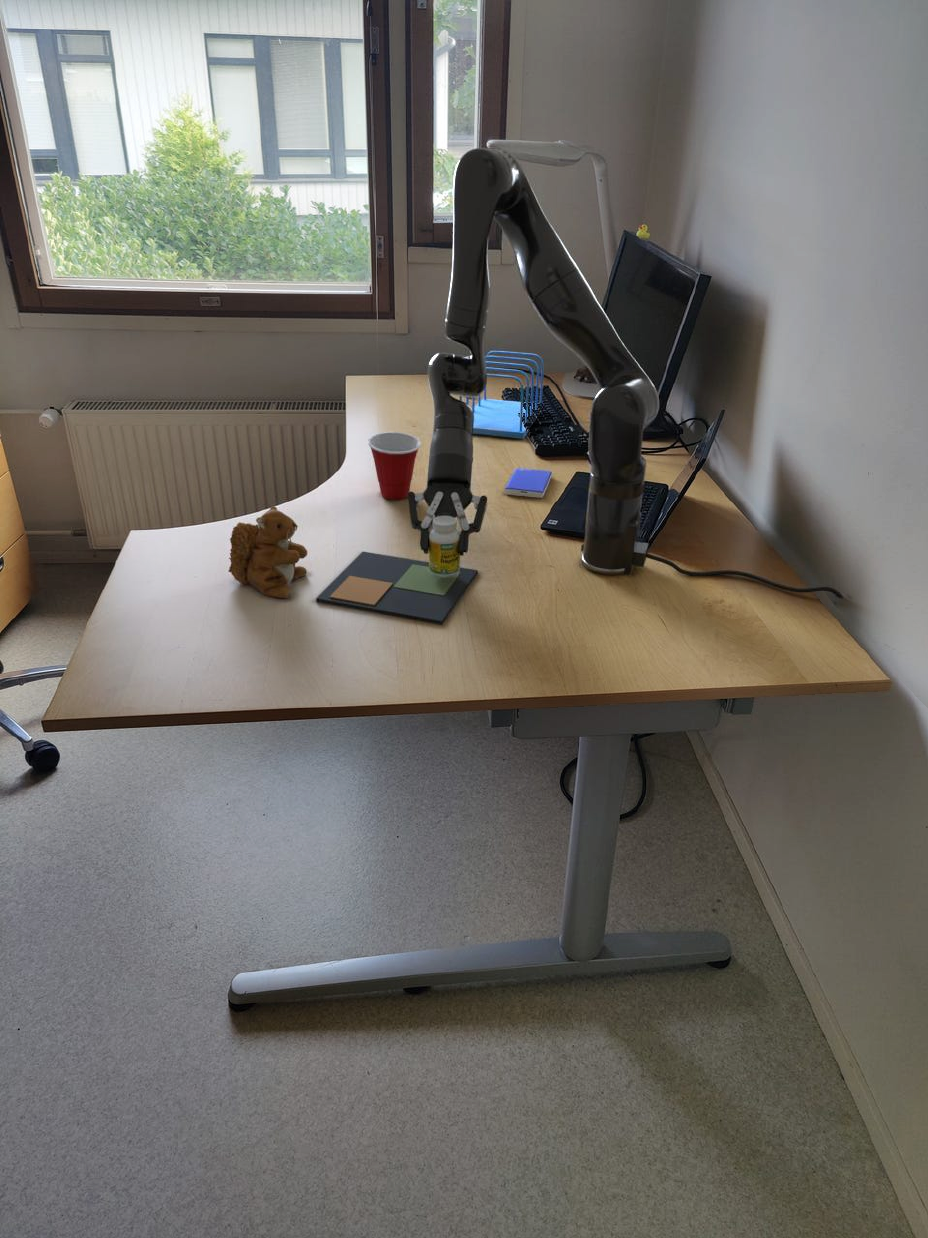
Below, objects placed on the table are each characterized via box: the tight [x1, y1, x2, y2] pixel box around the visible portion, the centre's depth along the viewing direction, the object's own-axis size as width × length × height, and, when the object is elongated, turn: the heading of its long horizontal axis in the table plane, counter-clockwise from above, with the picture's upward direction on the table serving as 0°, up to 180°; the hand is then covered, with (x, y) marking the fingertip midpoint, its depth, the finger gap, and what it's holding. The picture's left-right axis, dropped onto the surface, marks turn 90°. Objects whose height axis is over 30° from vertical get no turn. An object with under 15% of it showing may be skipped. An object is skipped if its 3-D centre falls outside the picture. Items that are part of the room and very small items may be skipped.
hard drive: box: [504, 467, 553, 499], centre depth 192 cm, size 2×8×12 cm
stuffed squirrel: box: [227, 505, 308, 599], centre depth 149 cm, size 10×14×13 cm
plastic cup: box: [367, 431, 422, 501], centre depth 184 cm, size 11×11×12 cm
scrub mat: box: [315, 551, 479, 625], centre depth 151 cm, size 22×19×1 cm
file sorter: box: [459, 350, 545, 440], centre depth 228 cm, size 25×17×15 cm
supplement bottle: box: [428, 516, 461, 577], centre depth 151 cm, size 5×5×10 cm
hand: (443, 552), depth 149 cm, fingers closed on supplement bottle, 5 cm apart
